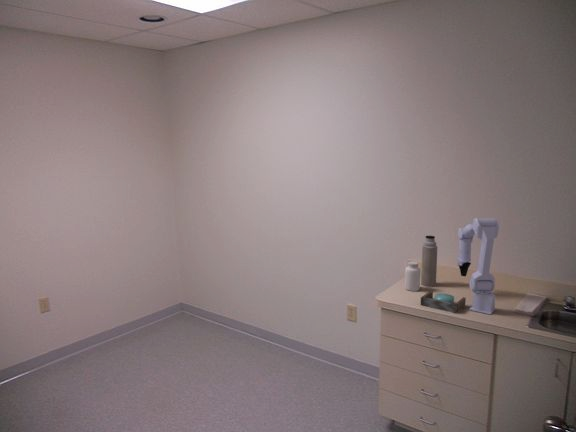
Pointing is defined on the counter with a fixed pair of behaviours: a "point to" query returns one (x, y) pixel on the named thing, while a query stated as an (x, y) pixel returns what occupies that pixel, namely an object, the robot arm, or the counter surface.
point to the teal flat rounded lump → (445, 298)
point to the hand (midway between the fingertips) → (463, 275)
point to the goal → (442, 303)
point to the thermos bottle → (429, 262)
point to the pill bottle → (412, 277)
